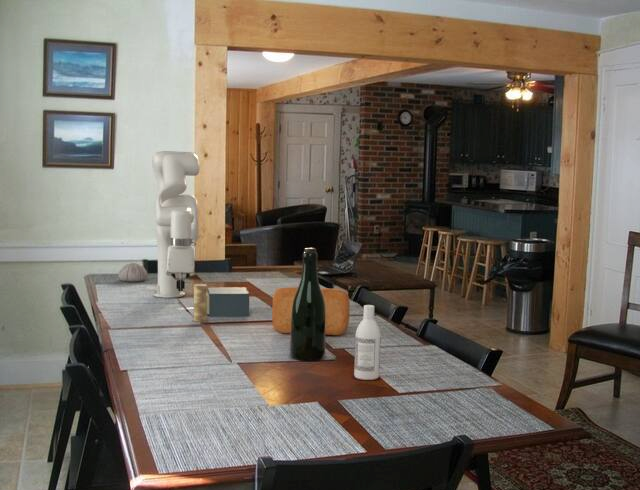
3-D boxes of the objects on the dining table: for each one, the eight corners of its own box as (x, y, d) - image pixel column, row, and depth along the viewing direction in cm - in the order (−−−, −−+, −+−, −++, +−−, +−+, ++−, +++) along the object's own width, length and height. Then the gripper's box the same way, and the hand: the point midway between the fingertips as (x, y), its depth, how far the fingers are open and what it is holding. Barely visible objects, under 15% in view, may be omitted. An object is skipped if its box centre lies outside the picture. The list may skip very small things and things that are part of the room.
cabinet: (209, 316, 295) (209, 293, 294) (207, 309, 309) (207, 287, 308) (249, 316, 299) (249, 293, 298) (245, 308, 313) (245, 287, 312)
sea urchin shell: (143, 283, 366) (143, 265, 365) (113, 282, 366) (113, 264, 365) (151, 278, 379) (151, 262, 378) (122, 277, 379) (122, 261, 378)
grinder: (193, 322, 285) (194, 286, 283) (193, 319, 290) (193, 283, 288) (206, 321, 286) (207, 285, 284) (206, 319, 291) (206, 283, 289)
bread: (348, 290, 266) (354, 286, 284) (271, 287, 269) (281, 283, 286) (347, 336, 267) (353, 330, 285) (270, 333, 270) (280, 326, 287)
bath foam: (365, 372, 225) (367, 302, 222) (384, 377, 221) (387, 306, 218) (348, 377, 220) (351, 305, 217) (368, 382, 215) (370, 309, 213)
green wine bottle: (310, 363, 233) (313, 250, 228) (282, 357, 239) (285, 247, 234) (331, 356, 242) (335, 248, 237) (304, 351, 247) (307, 245, 243)
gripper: (200, 241, 304) (200, 288, 307) (160, 240, 301) (160, 288, 304) (201, 244, 297) (201, 292, 300) (160, 243, 294) (160, 292, 297)
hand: (180, 290), depth 302 cm, fingers closed
